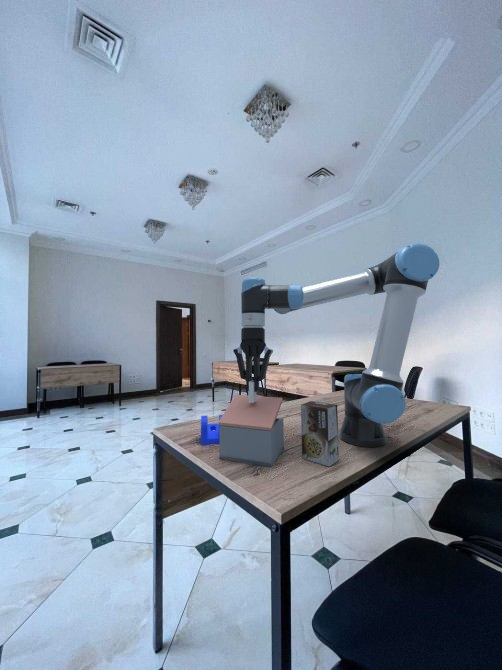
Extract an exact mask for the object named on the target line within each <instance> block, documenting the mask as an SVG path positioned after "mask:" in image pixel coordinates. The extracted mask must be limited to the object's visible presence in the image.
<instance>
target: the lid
mask: <svg viewBox="0 0 502 670" xmlns="http://www.w3.org/2000/svg"><path fill="white" fill-rule="evenodd" d="M283 400H284V399H283V397H278V396H277V397H274V396H260V395H256V402H254V403H249V395H245V394H235V395H234V397H233V398H232V400H231V401H230V403H229V405H228V406H227V408H226V409H225V411H224V412H223V414H221V415H222V417H221V419H220V420H219V419H218V422H217V424H219V425H224V426H233V427H242V428H251V429H260V430H269V431H272V428H273V426H274V423H275V420H276V418H278V414H279V411H280V409H281V407H282V404H283Z"/></svg>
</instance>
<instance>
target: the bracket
mask: <svg viewBox="0 0 502 670" xmlns="http://www.w3.org/2000/svg"><path fill="white" fill-rule="evenodd" d="M222 415H223V414H218V421H219V420H220V419H221V417H222ZM219 426H220V425H219V423H208V415H201V416H200V445H201V446H204V445H205V446H206V445H207V446H209V445H210V446H211V445H220V431H219ZM213 430H215V431H213Z"/></svg>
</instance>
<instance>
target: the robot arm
mask: <svg viewBox="0 0 502 670" xmlns="http://www.w3.org/2000/svg"><path fill="white" fill-rule="evenodd" d="M439 269H440V258H439V255H438V254H437V253H436V252H435V250H434V249H433V248H432V247H431V246H429V245H428V244H426V243H420V242H414V243H411V244H407V245H405V246H403V247H401V248H400V249H398V251H396V252H395V253H393V254H392V255H391V256H390V257H388V258H386V259H385V260H384V261H382V262H380V263H378V264H376V265H373V266H371V267H367V268H364V270H363V271H362V272H359V273H355V274H351V275H348V276H347V275H346V276H341V277H338V278H335V279H331V280H327V281H323V282H318V283H314V284H310V285H307V286H302V285H299V284H277V285H276V284H275V285H274V284H273V285H271V284H269V285H268V284H266V280H265V278H261V277H247V278H245V279H243V280H242V281H241V282H242V283H241V293H240V295H241V319H240V320H241V321H240V324H241V326H242V328H241V329H240V331H241V332H240V335H241V336H240V337H241V338H240V339H241V341H240V343H239V346H238V347H237V348H234V349H233V353H234V355H235V357H236V363H237V367H238V368H237V369H238V371H239V372H238V373H239V375H240V379H242V380H245V387H246V388H245V391H246V392H248V396H249V403H254V402H256V396H257V393H258V392H259V391H260V381H262V380H265V379H266V375H267V371H268V366H269V362H270V358H271V356H272V355H273V353H274V350H273V349H270V348H269V347H268V346H267V343H266V341H265V340H266V329H265V326H266V319H265V318H266V309H267V310H274V311H275V312H276V313H277V314H280V315H285V314H288V313H290V312H294V311H297V310H301V309H307V308H311V307H314V306H319V305H324V304H327V303H331V302H335V301H336V302H337V301H340V300H343V299H347V298H348V299H349V298H352V297H356V296H357V297H358V296H361V295H366V294H367V295H369V296H372V295H377V294H382V293H383V294H384V293H386V297H385V301H384V304H383V308H382V309H383V310H382V313H381V317H380V320H379V321H380V322H379V326H378V329H377V333H376V338H375V341H374V345H373V350H372V355H371V358H370V363H369V365H368V368H366V369H364V370H363V371H362V373H353V374H352V373H351V374H349V373H347V374H346V375H345V376H344V378H343V380H344V381H343V385H344V386H343V391H344V392H343V393H344V397H343V398H344V416H343V420H342V424H341V426H340V430H339V438H340V440H341V441H343V442H345V443H346V444H347V443H348V444H350V445H353V446H358V447H359V446H360V447H366V448H367V447H368V448H372V447H373V448H374V447H375V448H376V447H382V446H384V445H386V444H387V434H386V432H385V429H384V426H383V424H384V425H386V424H387V425H388V424H392V423H393V422H395V421H397V420H399V418H401V417H402V416H403V414H404V413H405V410H406V404H407V403H406V398H405V396H404V394H403V392H402V390H403V387H404V380H403V379H402V377H401V374H400V373H401V369H402V365H403V361H404V358H405V357H404V356H405V353H406V350H407V346H408V345H407V344H408V340H409V337H410V332H411V328H412V323H413V320H414V316H415V312H416V308H417V303H418V299H419V298H420V297H422V296H423V295H425V294H426V292H427V287H428V283H429V280H431V279H433V278H434V276H435V275H436V274H437V273H438V271H439ZM263 353H264V356H263V360H262V363H261V362H260V360H261V355H262V354H263ZM243 354H244V356H245V357H244V356H243ZM244 359H245V360H244ZM260 365H261V367H260Z"/></svg>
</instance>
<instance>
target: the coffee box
mask: <svg viewBox="0 0 502 670" xmlns="http://www.w3.org/2000/svg"><path fill="white" fill-rule="evenodd" d="M338 415H339V413H338V404H334V403H327V402H321V401H314V400H313V401H311V400H310V401H308V402H305V403H302V404H300V419H301V422H300V424H301V425H300V426H301V454H302V455H301V459H303V460H307V461H310V462H312V463H313V462H314V463H316V464H319V465H323V466H325V467H331V466H332V465H334V464H335V463H336V462H338V461H339V460H340V458H339V423H338V421H339V420H338Z"/></svg>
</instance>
